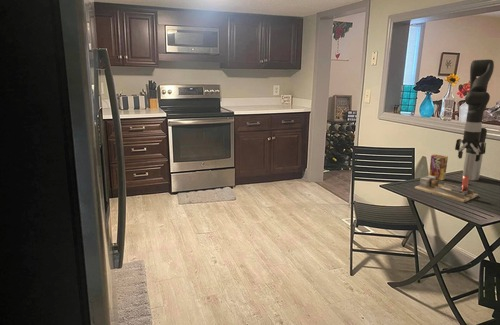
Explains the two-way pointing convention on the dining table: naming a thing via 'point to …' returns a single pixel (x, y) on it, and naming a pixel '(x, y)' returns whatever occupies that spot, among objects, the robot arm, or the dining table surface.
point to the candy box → (438, 166)
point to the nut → (434, 183)
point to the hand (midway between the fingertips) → (468, 159)
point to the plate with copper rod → (463, 186)
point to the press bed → (444, 190)
